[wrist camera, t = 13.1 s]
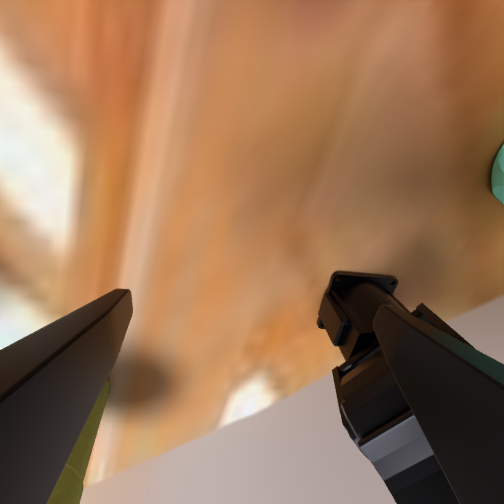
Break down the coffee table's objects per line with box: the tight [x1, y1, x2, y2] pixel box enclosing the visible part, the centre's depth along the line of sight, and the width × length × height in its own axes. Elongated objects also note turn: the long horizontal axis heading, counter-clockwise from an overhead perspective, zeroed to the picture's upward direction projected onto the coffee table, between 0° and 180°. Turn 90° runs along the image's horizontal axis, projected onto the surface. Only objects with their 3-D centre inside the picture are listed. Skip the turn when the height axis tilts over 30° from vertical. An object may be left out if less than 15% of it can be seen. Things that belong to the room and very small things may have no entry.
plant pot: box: [47, 380, 109, 504], centre depth 21 cm, size 12×12×11 cm
